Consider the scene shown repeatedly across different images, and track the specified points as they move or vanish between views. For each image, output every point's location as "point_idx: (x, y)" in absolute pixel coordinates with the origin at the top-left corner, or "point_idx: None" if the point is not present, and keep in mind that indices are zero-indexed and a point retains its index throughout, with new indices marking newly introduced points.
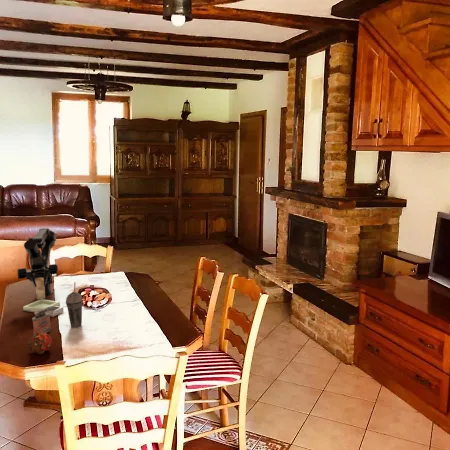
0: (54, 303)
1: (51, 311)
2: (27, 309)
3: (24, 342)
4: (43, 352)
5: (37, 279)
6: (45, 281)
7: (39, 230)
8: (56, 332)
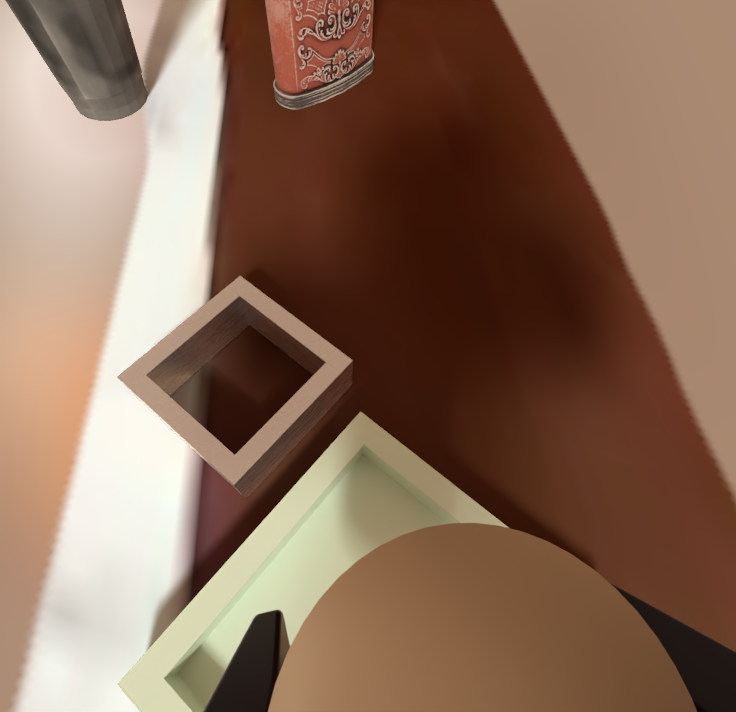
0: (201, 618)
1: (253, 287)
2: None
3: (408, 13)
4: None
5: (541, 581)
6: (220, 700)
7: None
8: (243, 61)
